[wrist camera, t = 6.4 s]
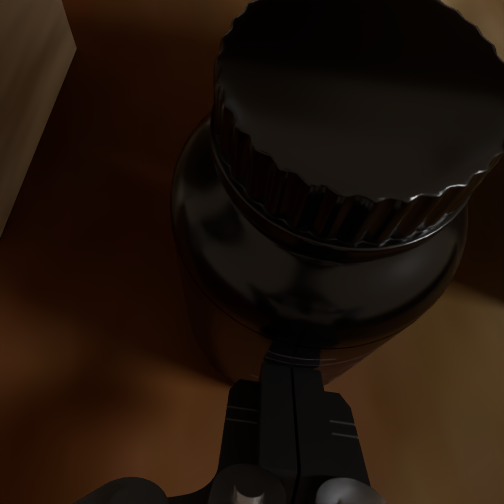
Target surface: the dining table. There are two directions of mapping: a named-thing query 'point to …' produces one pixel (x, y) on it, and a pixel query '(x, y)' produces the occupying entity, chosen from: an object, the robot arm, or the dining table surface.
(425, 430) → the dining table surface
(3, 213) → the riser
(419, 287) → the supplement bottle
